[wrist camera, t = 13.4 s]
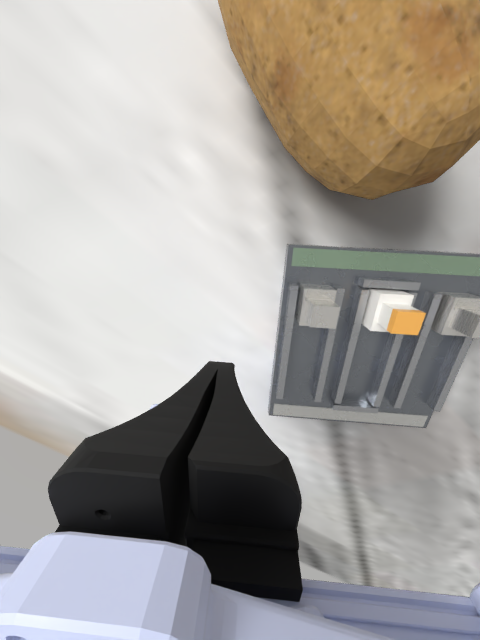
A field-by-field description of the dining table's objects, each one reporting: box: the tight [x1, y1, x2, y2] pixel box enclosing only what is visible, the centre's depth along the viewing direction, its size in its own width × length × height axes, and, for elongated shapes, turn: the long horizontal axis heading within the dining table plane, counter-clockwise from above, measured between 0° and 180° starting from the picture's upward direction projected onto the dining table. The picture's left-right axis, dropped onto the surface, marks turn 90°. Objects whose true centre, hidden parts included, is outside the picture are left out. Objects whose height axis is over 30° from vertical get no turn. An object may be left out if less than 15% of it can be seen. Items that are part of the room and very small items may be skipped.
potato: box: [218, 0, 480, 200], centre depth 11 cm, size 9×16×9 cm, turn 35°
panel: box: [268, 244, 480, 428], centre depth 19 cm, size 17×16×5 cm
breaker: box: [361, 288, 426, 335], centre depth 17 cm, size 3×2×4 cm
